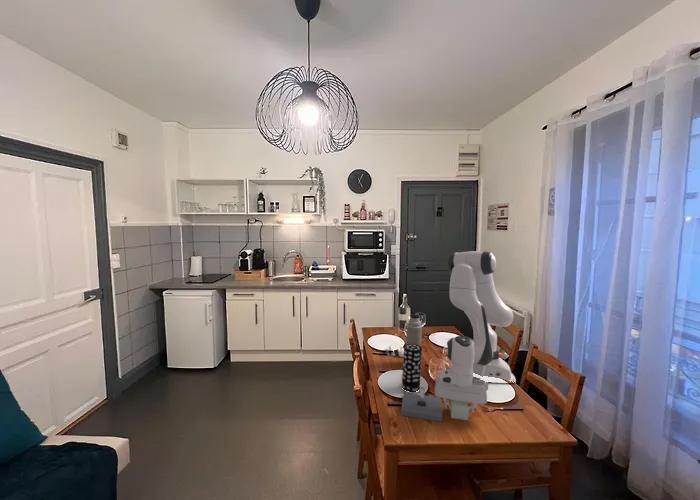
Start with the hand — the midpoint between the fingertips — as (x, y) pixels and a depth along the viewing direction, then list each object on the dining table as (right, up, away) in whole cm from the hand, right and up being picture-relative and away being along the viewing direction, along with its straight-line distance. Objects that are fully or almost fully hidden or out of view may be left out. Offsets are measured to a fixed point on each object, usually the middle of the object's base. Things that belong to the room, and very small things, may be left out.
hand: (459, 409), depth 129 cm
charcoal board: (-15, -1, +4) cm, 15 cm away
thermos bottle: (-10, +2, +43) cm, 45 cm away
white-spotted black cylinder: (-16, 0, +19) cm, 25 cm away
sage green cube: (0, -2, 0) cm, 2 cm away
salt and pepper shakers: (-17, +3, +58) cm, 61 cm away
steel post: (-15, -1, +3) cm, 15 cm away
